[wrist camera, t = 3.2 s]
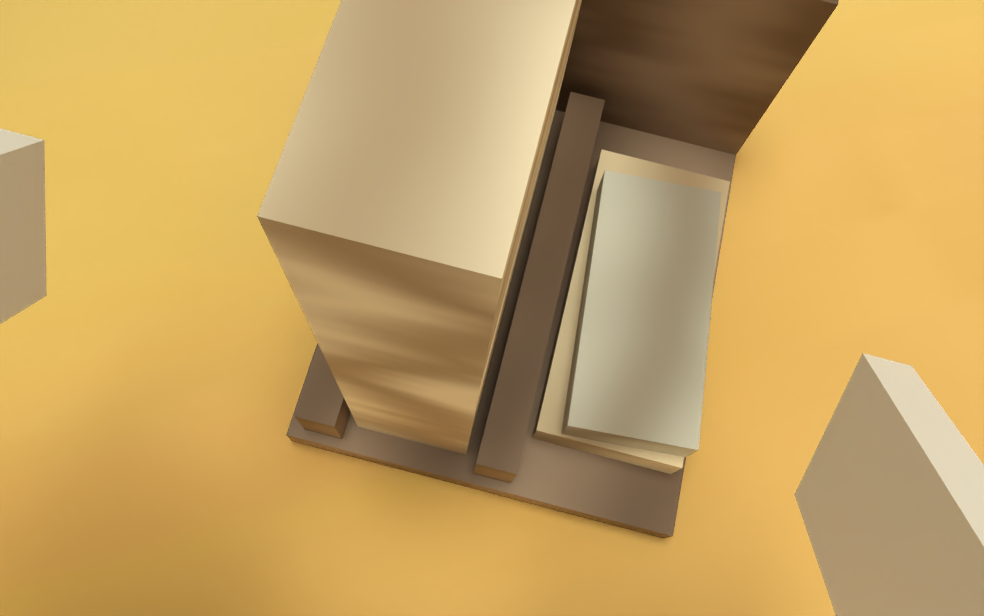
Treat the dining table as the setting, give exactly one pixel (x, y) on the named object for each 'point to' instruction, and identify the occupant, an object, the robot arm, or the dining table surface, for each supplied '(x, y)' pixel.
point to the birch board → (416, 197)
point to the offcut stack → (636, 316)
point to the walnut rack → (556, 226)
